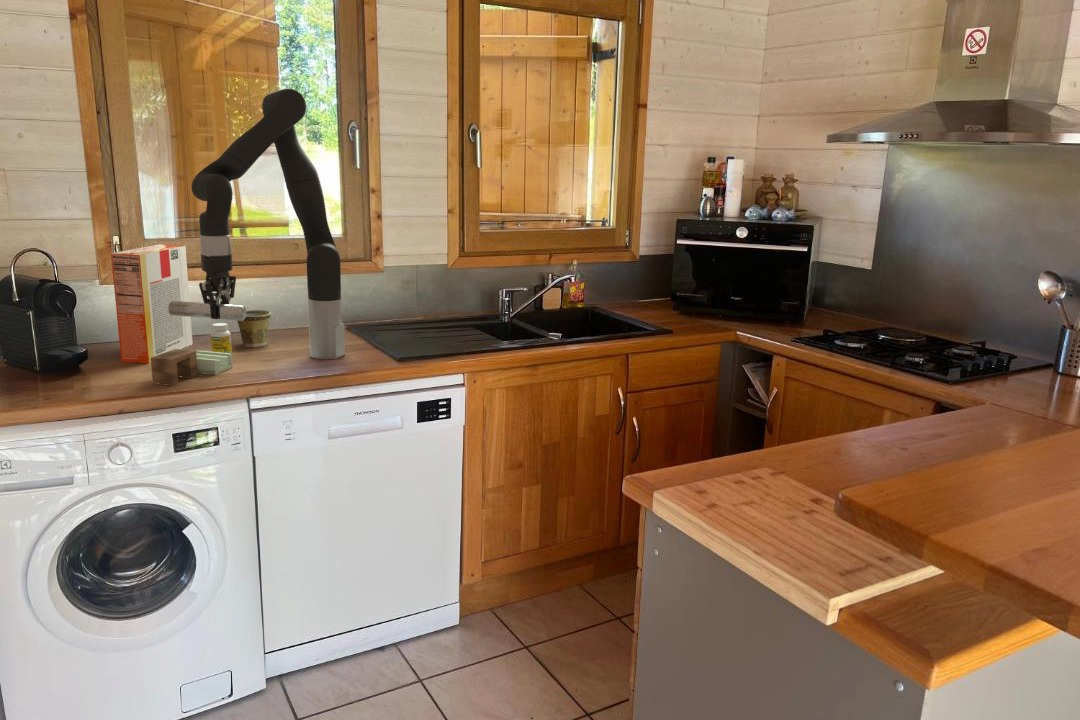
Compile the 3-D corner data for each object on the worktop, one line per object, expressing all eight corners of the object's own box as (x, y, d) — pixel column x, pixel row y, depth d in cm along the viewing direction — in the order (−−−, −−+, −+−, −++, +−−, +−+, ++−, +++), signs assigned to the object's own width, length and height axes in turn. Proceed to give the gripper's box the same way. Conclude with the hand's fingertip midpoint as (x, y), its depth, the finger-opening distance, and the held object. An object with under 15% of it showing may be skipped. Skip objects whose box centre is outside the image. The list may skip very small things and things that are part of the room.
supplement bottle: (233, 354, 229) (231, 322, 226) (230, 358, 224) (228, 326, 221) (213, 354, 227) (211, 322, 225) (210, 359, 222) (208, 326, 220)
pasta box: (167, 342, 238) (159, 244, 231) (192, 344, 238) (185, 245, 230) (121, 361, 216) (110, 253, 209) (149, 363, 215) (139, 255, 208)
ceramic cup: (276, 346, 239) (274, 314, 237) (242, 350, 234) (240, 317, 231) (264, 337, 250) (262, 307, 247) (231, 340, 244) (229, 309, 242)
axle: (246, 319, 208) (246, 305, 207) (238, 321, 204) (238, 306, 203) (177, 314, 211) (177, 299, 210) (168, 316, 207) (168, 301, 206)
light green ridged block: (232, 367, 215) (231, 353, 214) (215, 374, 208) (214, 360, 207) (199, 364, 217) (198, 350, 216) (181, 371, 209) (180, 357, 208)
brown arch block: (197, 375, 207) (196, 350, 205) (173, 385, 197) (171, 359, 195) (177, 373, 208) (175, 348, 206) (152, 383, 198) (150, 357, 196)
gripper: (218, 248, 210) (222, 311, 214) (186, 254, 196) (191, 321, 201) (244, 250, 209) (247, 313, 213) (213, 256, 195) (218, 323, 200)
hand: (220, 316), depth 207 cm, fingers closed on axle, 4 cm apart
